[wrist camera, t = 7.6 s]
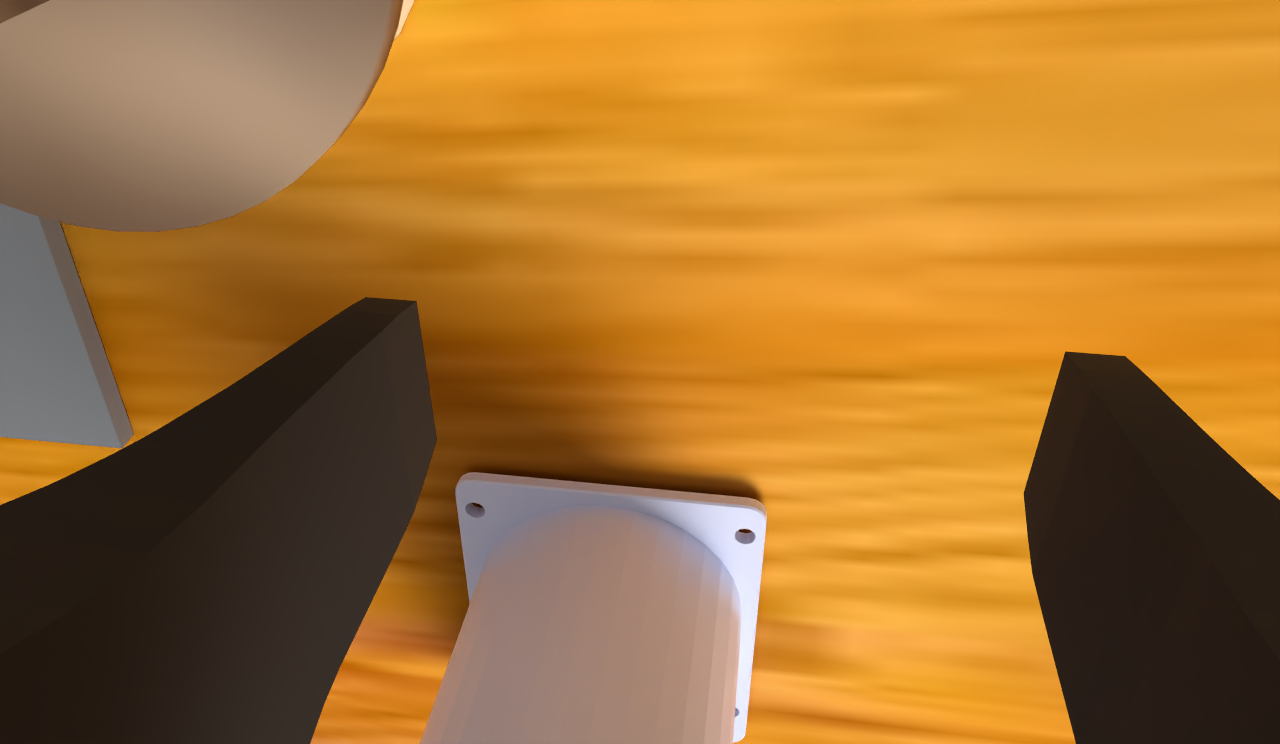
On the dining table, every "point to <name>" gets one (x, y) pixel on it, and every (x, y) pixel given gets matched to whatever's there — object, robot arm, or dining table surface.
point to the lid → (176, 102)
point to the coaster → (51, 343)
